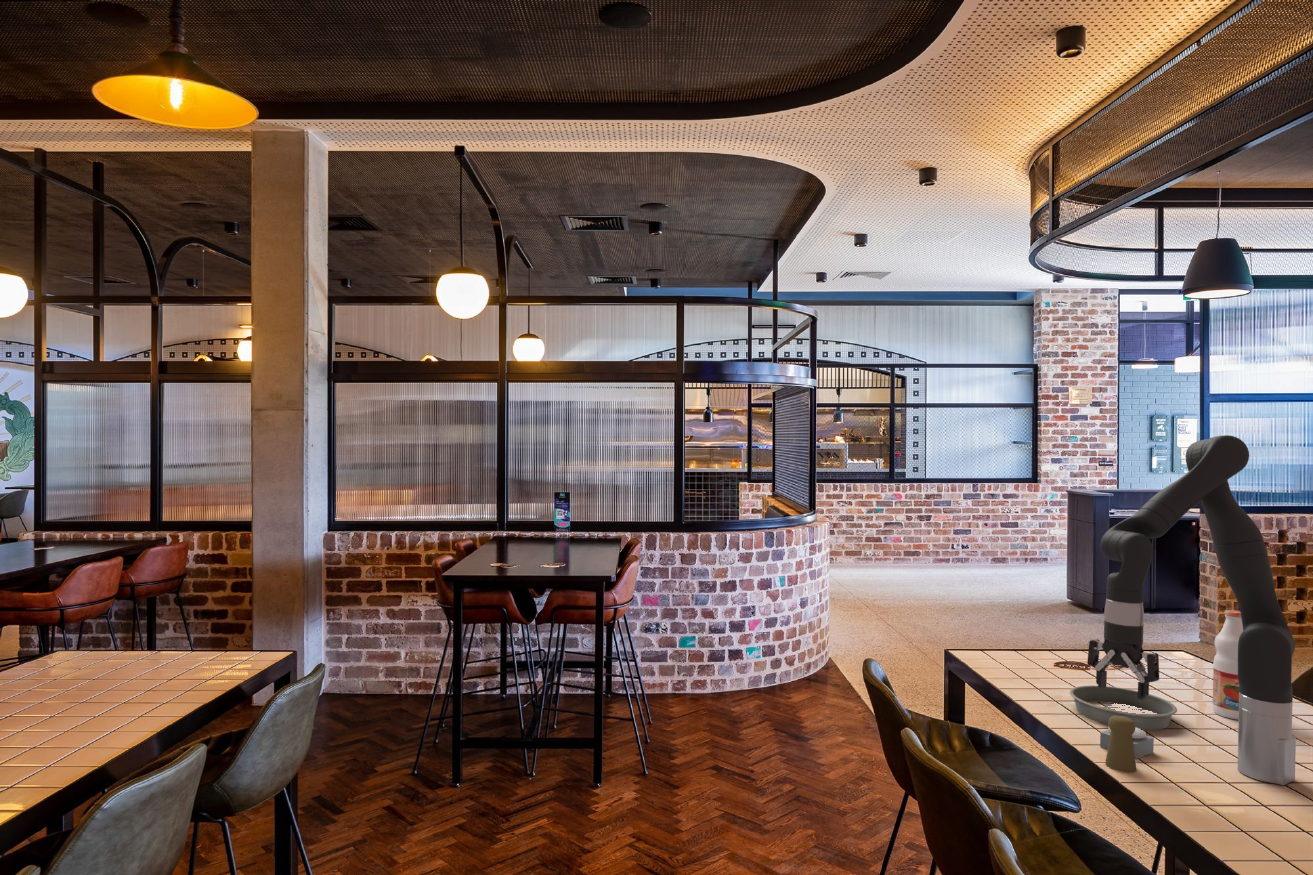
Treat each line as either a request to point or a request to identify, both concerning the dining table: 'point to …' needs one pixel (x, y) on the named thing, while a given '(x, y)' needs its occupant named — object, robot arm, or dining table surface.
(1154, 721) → the cake pan
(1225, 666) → the fruit juice
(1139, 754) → the scale
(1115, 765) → the olive pepper mill
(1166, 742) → the dining table surface
